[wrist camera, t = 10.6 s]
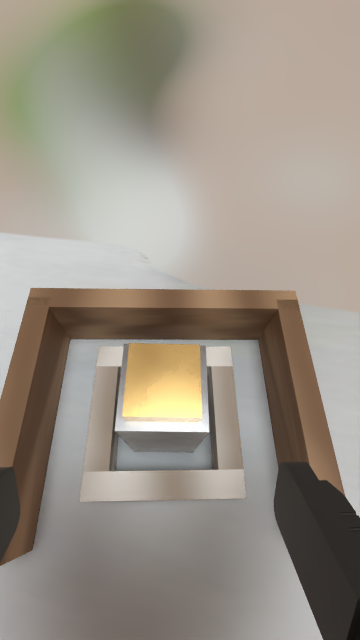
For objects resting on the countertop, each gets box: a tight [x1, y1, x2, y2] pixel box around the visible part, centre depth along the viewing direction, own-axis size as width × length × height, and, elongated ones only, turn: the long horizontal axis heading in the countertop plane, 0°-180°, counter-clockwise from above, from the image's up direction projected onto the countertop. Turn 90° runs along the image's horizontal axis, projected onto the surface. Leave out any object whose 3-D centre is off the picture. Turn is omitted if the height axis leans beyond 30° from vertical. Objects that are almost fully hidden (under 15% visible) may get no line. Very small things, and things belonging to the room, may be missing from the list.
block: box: [115, 343, 209, 452], centre depth 17 cm, size 4×4×10 cm
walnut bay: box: [0, 288, 345, 566], centre depth 19 cm, size 18×15×5 cm
